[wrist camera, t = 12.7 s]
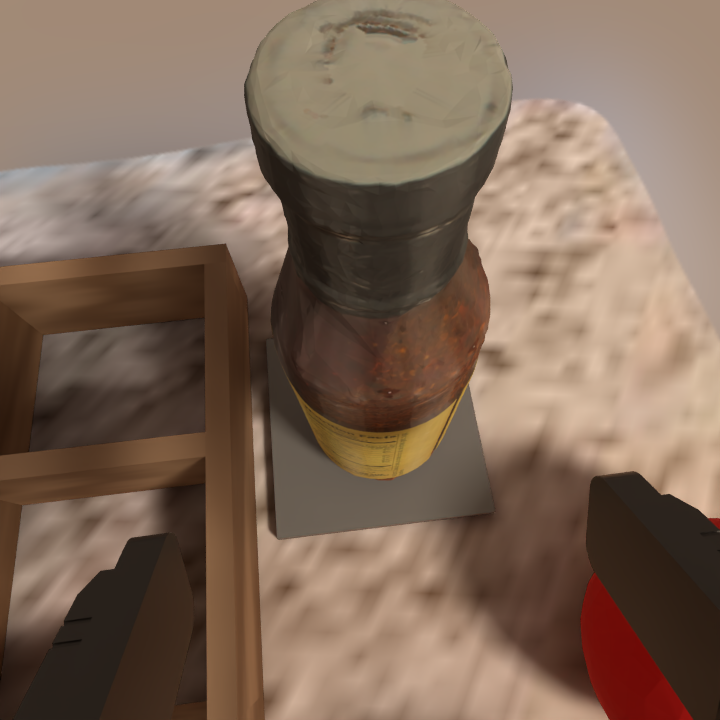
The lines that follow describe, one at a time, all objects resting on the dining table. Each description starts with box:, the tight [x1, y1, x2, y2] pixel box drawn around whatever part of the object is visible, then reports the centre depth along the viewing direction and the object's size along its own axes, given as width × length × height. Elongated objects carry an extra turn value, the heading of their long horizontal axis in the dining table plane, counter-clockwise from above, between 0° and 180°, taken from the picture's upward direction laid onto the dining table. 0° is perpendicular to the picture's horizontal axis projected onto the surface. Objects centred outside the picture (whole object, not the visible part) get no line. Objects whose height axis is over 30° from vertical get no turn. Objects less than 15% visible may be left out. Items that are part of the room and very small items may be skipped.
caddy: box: [0, 244, 265, 720], centre depth 23 cm, size 12×20×5 cm, turn 7°
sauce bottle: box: [244, 0, 513, 481], centre depth 17 cm, size 7×6×20 cm
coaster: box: [266, 338, 495, 540], centre depth 27 cm, size 10×10×1 cm
